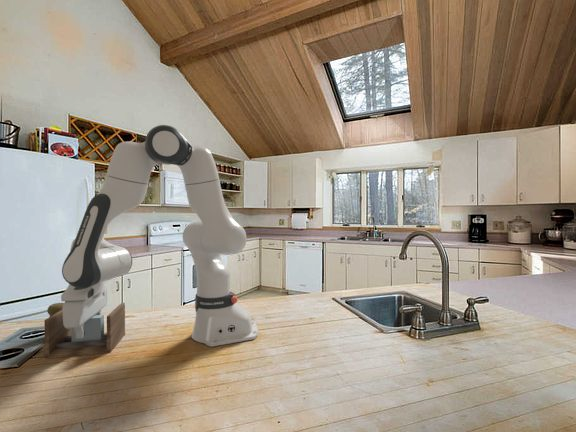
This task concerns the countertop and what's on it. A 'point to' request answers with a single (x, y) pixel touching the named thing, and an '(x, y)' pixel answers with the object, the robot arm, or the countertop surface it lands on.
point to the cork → (54, 308)
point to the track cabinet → (62, 345)
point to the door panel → (91, 329)
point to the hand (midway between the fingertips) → (88, 330)
